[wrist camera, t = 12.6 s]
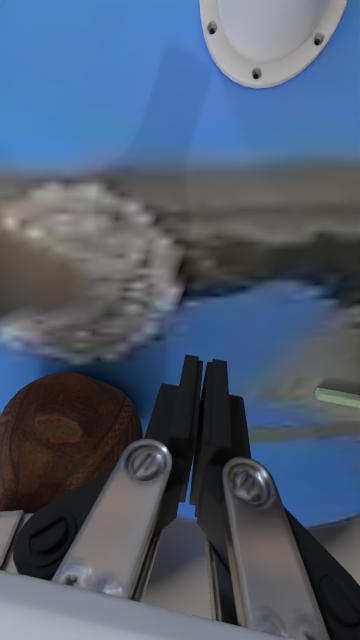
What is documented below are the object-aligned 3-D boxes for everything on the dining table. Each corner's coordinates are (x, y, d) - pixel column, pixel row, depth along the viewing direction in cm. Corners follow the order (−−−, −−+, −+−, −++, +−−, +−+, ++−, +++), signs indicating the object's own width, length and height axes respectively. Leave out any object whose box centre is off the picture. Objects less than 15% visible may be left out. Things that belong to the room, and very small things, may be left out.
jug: (173, 436, 46) (110, 769, 19) (79, 459, 52) (-71, 735, 25) (112, 337, 39) (-128, 632, 12) (13, 376, 45) (-298, 631, 18)
